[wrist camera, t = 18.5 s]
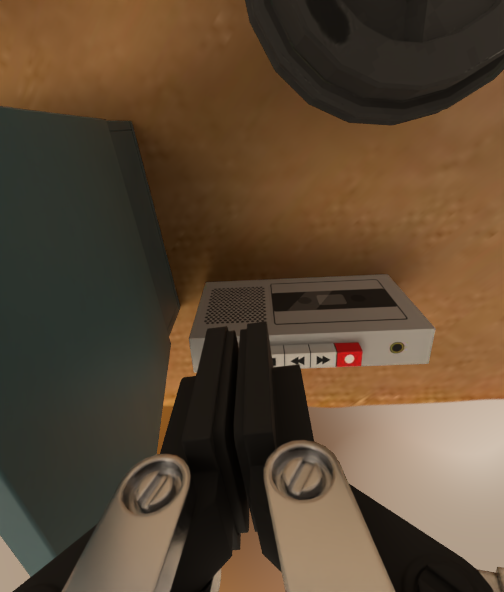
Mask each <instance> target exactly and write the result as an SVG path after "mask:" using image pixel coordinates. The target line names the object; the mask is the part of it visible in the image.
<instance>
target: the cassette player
mask: <svg viewBox="0 0 504 592" xmlns="http://www.w3.org/2000/svg"><path fill="white" fill-rule="evenodd" d="M265 321H266V322H267V327H268V334H269V340H270V347H271V354H272V361H273V367H280V366H288V365H297V364H300V368H326V367H352V366H379V365H405V364H428V363H429V358H430V353H431V348H432V343H433V338H434V333H435V328H434V326H433V325H432V324H431V323H430V322H429V321H428V320H427V318H426V317H425V316H424V315H423V314H422V313H421V312H420V310H419V309H418V308H417V307H416V306H415V305H414V304H413V302H412V301H411V300H410V299H409V298H408V297H407V296H406V295H405V293H404V292H403V291H402V290H401V289H400V288H399V287H398V285H397V284H396V283H395V282H394V281H393V280H392V279H391V277H390V276H389V275H388V274H380V275H358V276H335V277H312V278H290V279H267V280H245V281H222V282H206V283H205V286H204V289H203V293H202V296H201V300H200V303H199V306H198V310H197V313H196V316H195V320H194V323H193V326H192V330H191V333H190V337H189V343H190V349H191V356H192V363H193V370H194V372H197V370H198V366H199V361H200V357H201V353H202V348H203V344H204V340H205V335H206V331H207V329H208V328H216V327H224V326H227V327H228V330H229V331H233V330H235V332H236V336H237V342H238V347H239V340H240V330H241V329H247V324H248V323H256V322H265Z"/></svg>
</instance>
